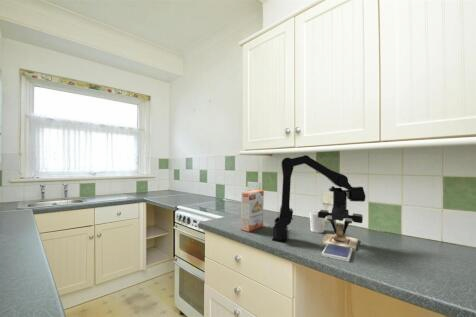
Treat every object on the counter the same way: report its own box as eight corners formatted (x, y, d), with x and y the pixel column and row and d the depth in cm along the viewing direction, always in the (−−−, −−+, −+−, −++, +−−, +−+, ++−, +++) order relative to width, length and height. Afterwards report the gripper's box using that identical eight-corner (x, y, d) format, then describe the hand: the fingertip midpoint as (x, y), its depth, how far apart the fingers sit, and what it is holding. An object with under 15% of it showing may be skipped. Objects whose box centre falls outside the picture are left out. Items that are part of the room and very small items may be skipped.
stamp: (333, 240, 107) (333, 225, 107) (334, 237, 111) (334, 222, 111) (344, 242, 104) (344, 227, 104) (346, 238, 108) (346, 224, 108)
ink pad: (321, 256, 93) (321, 252, 93) (327, 246, 103) (327, 243, 103) (348, 261, 88) (348, 257, 88) (352, 251, 98) (352, 247, 98)
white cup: (306, 229, 127) (306, 211, 127) (318, 228, 130) (318, 210, 130) (316, 234, 120) (316, 214, 120) (328, 232, 122) (328, 213, 122)
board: (320, 244, 105) (320, 241, 105) (327, 235, 117) (327, 233, 117) (355, 250, 98) (355, 248, 98) (357, 240, 110) (357, 238, 110)
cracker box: (249, 232, 122) (249, 193, 122) (240, 230, 126) (240, 192, 126) (264, 226, 133) (264, 190, 133) (255, 224, 137) (255, 189, 137)
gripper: (315, 201, 106) (315, 235, 106) (361, 206, 96) (361, 243, 96) (320, 198, 115) (320, 229, 115) (362, 202, 105) (362, 236, 105)
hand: (339, 234), depth 108 cm, fingers closed on stamp, 3 cm apart
